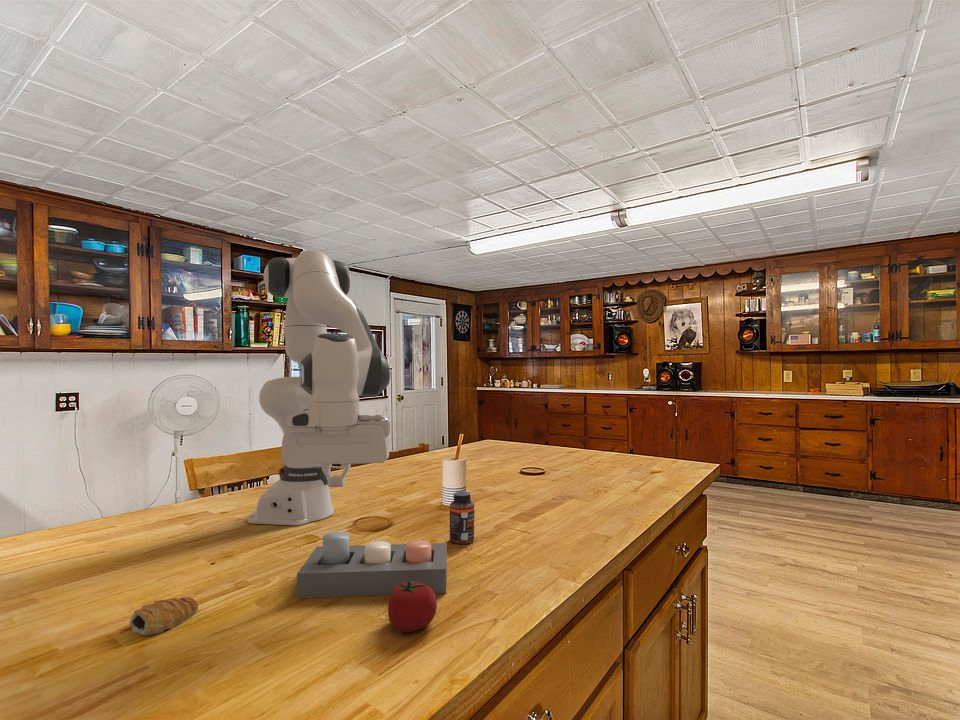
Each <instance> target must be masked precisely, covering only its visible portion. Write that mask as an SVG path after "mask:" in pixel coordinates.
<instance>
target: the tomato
mask: <svg viewBox="0 0 960 720" xmlns="http://www.w3.org/2000/svg"><path fill="white" fill-rule="evenodd" d="M388 596H389V598H388V604H387V616H388V620H389V624H391V626H392V627H393V629H395V631H398V632H400V633H402V634H404V633H413V632H415V631H419V630H421V629H423V628H425V627H426V628H427V627H428V626H429V625H430V624H431V622H432V621H433V619H434V618H435V616H436V615H437V614H436V613H437V609H438V603H437V597H436V594H435V593H434V592H433V590H432V588H431V587H429V586H427V585H425V584H423V583H419V582H416V581H407V582H403V583H399V584H398V585H397V586H396V587H395V588H394V589H393V590H392V592H391V594H390V595H388Z"/></svg>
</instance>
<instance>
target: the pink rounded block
mask: <svg viewBox="0 0 960 720" xmlns="http://www.w3.org/2000/svg"><path fill="white" fill-rule="evenodd" d="M405 544H406V562H431V542H430V541H427V540H424V539H423V540H421V539H420V540H419V539H417V540H412V541H410V542H407V543H405Z"/></svg>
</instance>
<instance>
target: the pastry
mask: <svg viewBox="0 0 960 720" xmlns="http://www.w3.org/2000/svg"><path fill="white" fill-rule="evenodd" d="M198 605H199V604H198V602H197V600H195V598H194V597H191V596H190V597H189V596H182V597H180V598H178V597H171V598H167V599H158V600H155V601H153V603H147V604H144V605H143V606H141V608H138V609H136V610H134V612H133V614H132V615H131V617H130V620H129V627H130V628H131V630H132V632H133V633H135V634H139V635H142V636H145V637H146V636H147V637H148V636H149V637H150V636H155V635H158V634H162V633H163V632H164V631H165V630H168V629H170V630H171V629H173V628H175V627H177V626H179V625H180V624H182V623H184V622H186V621H187V620H189V619H190V618H191V617H193V616H194V615H195V614H196V613H197V612H198V610H199V609H198V608H199V606H198Z"/></svg>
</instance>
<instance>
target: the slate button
mask: <svg viewBox="0 0 960 720" xmlns="http://www.w3.org/2000/svg"><path fill="white" fill-rule="evenodd" d="M322 546H323V565H335V564H349V562H350V556H349V546H350V533H348V532H345V531H334V532H329V533H327V534H324V535H323V536H322Z"/></svg>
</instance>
